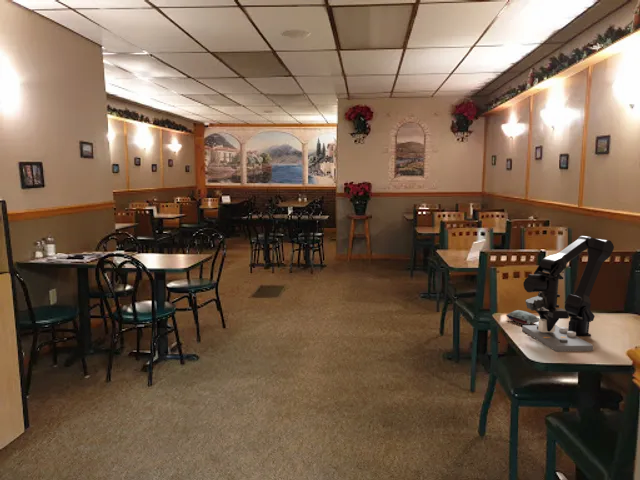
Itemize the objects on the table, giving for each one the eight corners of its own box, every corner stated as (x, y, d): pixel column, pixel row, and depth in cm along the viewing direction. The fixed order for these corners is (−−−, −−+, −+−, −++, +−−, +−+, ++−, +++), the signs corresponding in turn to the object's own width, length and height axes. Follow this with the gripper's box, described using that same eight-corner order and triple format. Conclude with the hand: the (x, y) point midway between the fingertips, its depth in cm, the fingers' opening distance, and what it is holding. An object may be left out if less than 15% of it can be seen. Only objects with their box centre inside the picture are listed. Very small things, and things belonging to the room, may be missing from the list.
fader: (538, 329, 187) (538, 318, 187) (550, 329, 188) (551, 318, 187) (542, 332, 184) (543, 320, 184) (554, 332, 185) (555, 320, 184)
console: (522, 330, 195) (522, 321, 194) (554, 329, 196) (555, 321, 195) (555, 351, 171) (556, 341, 170) (592, 350, 172) (593, 341, 172)
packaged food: (519, 317, 213) (520, 307, 212) (542, 325, 202) (542, 314, 202) (505, 320, 209) (505, 309, 208) (527, 328, 198) (528, 316, 198)
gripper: (517, 285, 192) (515, 322, 195) (542, 296, 174) (539, 338, 176) (544, 285, 193) (541, 322, 195) (571, 296, 175) (568, 337, 177)
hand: (546, 329), depth 186 cm, fingers closed on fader, 3 cm apart
